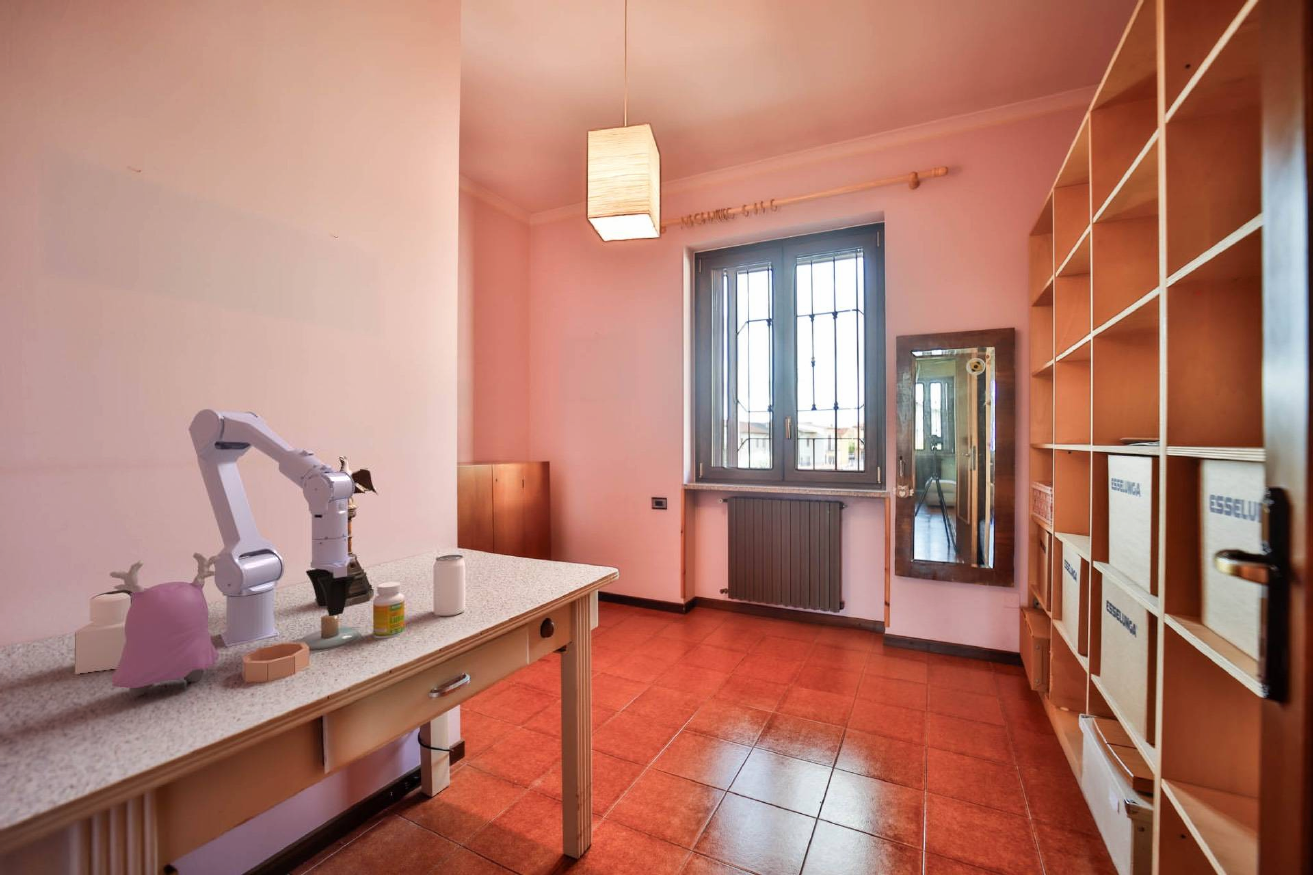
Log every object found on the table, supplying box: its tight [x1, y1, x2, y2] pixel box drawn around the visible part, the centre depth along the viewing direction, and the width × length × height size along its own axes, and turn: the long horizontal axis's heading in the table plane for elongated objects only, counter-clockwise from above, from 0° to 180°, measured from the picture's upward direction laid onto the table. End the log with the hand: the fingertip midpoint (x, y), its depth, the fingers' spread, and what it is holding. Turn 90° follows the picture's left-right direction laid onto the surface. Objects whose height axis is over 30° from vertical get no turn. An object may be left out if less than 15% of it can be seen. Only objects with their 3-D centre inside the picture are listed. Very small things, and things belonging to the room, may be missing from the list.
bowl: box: [241, 641, 310, 683], centre depth 84 cm, size 8×8×3 cm
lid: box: [300, 614, 359, 650], centre depth 97 cm, size 9×9×4 cm
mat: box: [291, 626, 368, 656], centre depth 97 cm, size 10×10×1 cm
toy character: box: [109, 552, 220, 698], centre depth 79 cm, size 12×10×20 cm
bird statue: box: [314, 455, 379, 609], centre depth 126 cm, size 17×13×35 cm
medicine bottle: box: [74, 589, 132, 675], centre depth 88 cm, size 7×7×12 cm
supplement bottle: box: [372, 581, 406, 639], centre depth 100 cm, size 5×5×10 cm
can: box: [432, 554, 466, 618], centre depth 114 cm, size 6×6×12 cm
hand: (330, 609), depth 97 cm, fingers open, 7 cm apart
